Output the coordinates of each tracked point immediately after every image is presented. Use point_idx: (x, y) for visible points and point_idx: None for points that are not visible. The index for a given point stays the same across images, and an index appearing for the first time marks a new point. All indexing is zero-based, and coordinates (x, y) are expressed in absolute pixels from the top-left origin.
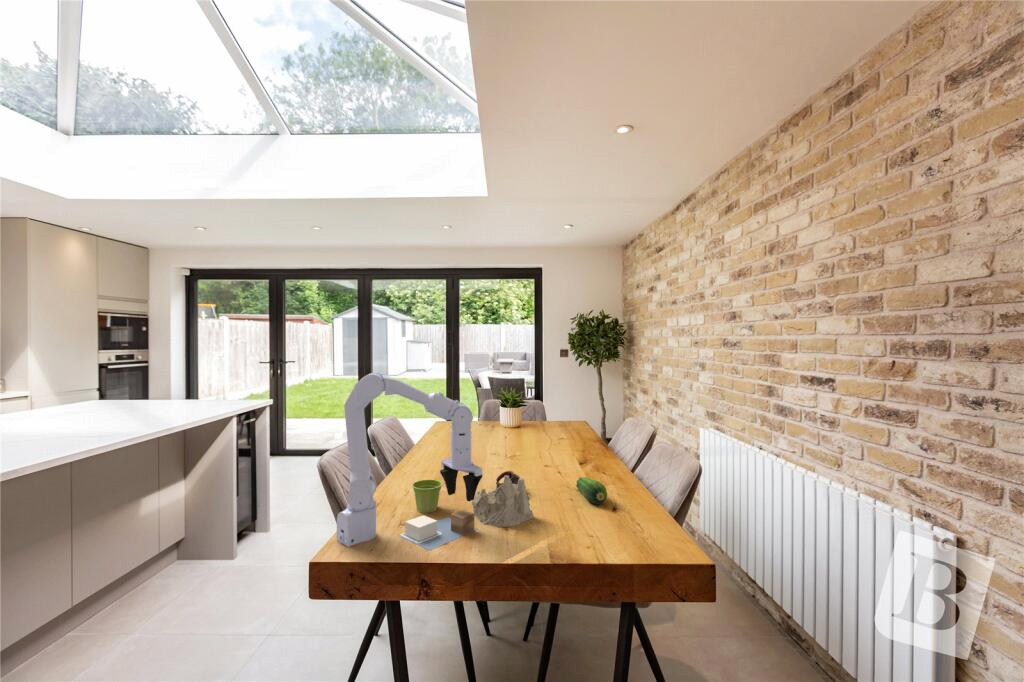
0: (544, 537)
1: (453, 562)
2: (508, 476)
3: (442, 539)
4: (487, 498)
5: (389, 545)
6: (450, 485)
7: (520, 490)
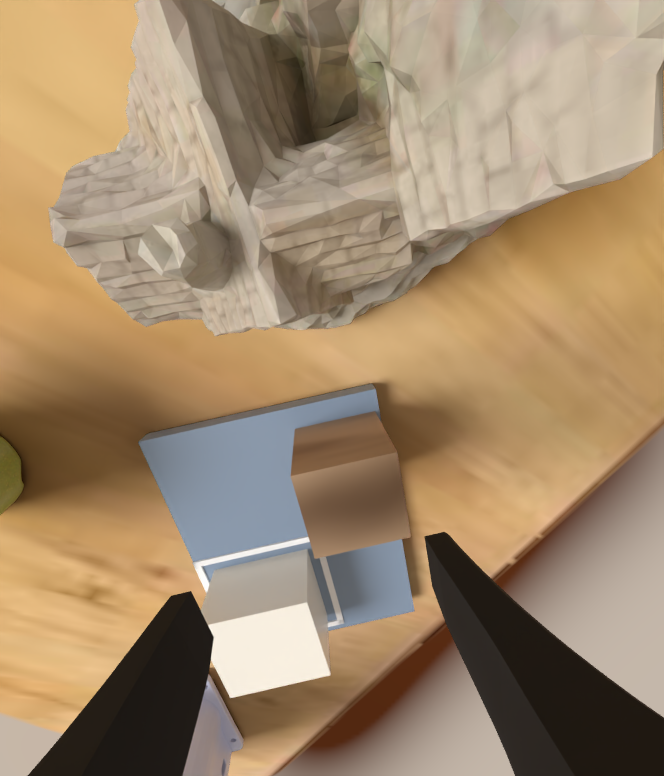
0: None
1: (507, 561)
2: None
3: (367, 551)
4: (308, 277)
5: None
6: (168, 749)
7: None
